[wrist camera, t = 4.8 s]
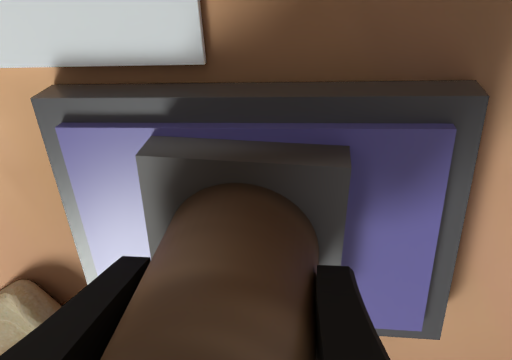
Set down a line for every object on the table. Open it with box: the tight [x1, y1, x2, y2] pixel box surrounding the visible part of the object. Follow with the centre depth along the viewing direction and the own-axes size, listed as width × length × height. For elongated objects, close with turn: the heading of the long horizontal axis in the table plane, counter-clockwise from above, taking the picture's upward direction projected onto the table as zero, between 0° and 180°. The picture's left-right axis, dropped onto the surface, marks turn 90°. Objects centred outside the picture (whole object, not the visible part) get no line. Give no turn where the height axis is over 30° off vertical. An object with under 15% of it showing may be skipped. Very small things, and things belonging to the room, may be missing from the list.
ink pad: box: [30, 80, 489, 340], centre depth 12 cm, size 10×7×1 cm
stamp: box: [100, 136, 351, 360], centre depth 8 cm, size 4×4×6 cm
